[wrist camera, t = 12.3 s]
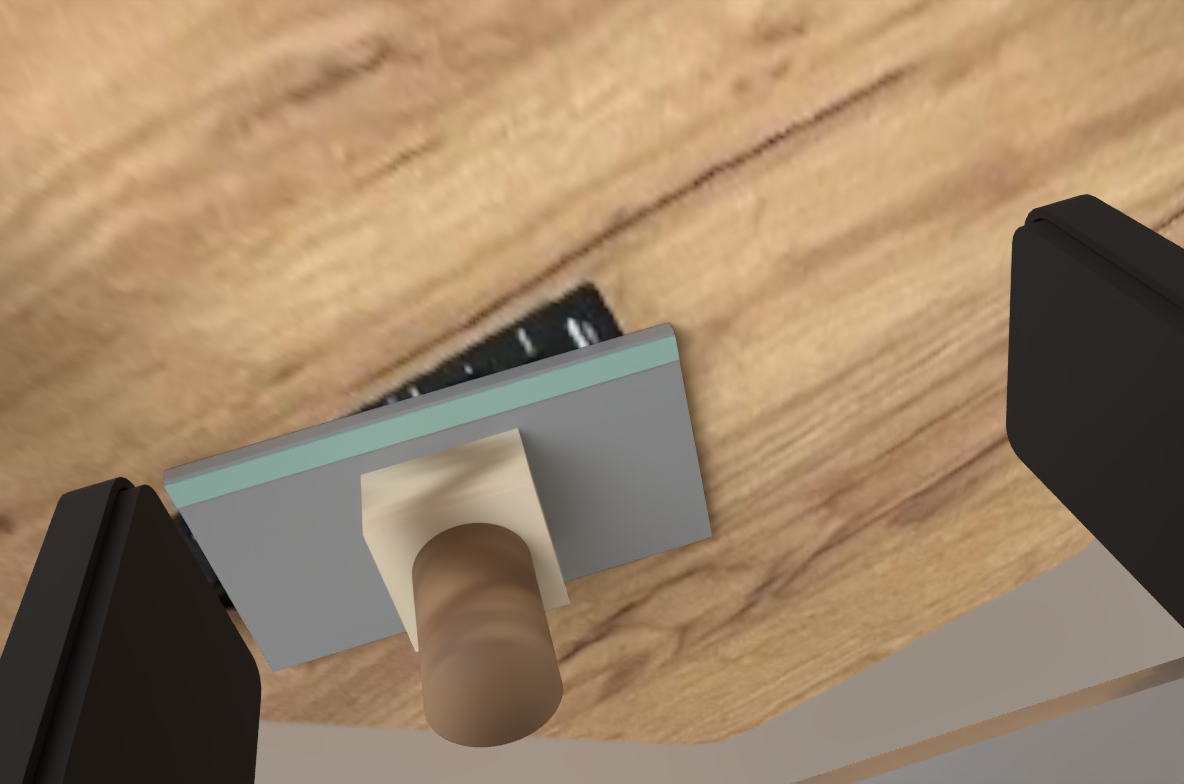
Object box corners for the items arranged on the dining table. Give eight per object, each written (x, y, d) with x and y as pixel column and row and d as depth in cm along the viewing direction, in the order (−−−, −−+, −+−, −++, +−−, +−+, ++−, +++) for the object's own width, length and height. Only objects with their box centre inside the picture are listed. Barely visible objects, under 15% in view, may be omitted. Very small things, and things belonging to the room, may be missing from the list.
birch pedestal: (517, 428, 44) (532, 483, 41) (553, 544, 48) (570, 603, 44) (360, 474, 43) (362, 534, 40) (410, 588, 47) (415, 651, 44)
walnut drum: (515, 507, 41) (545, 632, 35) (543, 593, 44) (575, 722, 38) (395, 544, 41) (406, 675, 35) (432, 628, 43) (446, 763, 38)
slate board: (668, 322, 44) (674, 332, 43) (707, 526, 50) (712, 537, 50) (165, 470, 42) (161, 483, 41) (273, 659, 49) (272, 673, 48)
